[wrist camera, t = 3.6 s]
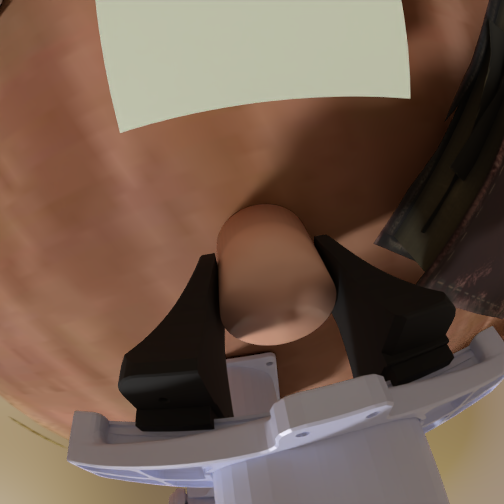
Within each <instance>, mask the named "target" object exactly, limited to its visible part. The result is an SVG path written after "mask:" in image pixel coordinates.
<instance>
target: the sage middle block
mask: <svg viewBox="0 0 504 504" xmlns="http://www.w3.org/2000/svg"><path fill="white" fill-rule="evenodd" d="M96 9H97V18H98V25H99V33H100V39H101V45H102V52H103V57H104V63H105V68H106V73H107V78H108V83H109V88H110V93H111V97H112V102H113V106H114V110H115V114H116V118H117V122H118V126H119V130H120V133H122V132H125V131H128V130H131V129H135V128H138V127H141V126H145V125H149V124H152V123H156V122H160V121H164V120H168V119H172V118H176V117H180V116H184V115H189V114H194V113H198V112H203V111H208V110H214V109H219V108H225V107H231V106H237V105H244V104H251V103H258V102H267V101H276V100H286V99H298V98H313V97H342V96H366V97H393V98H408V99H410V70H409V56H408V45H407V35H406V27H405V20H404V13H403V7H402V1H401V0H96Z"/></svg>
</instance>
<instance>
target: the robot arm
mask: <svg viewBox="0 0 504 504" xmlns="http://www.w3.org/2000/svg"><path fill="white" fill-rule="evenodd" d="M314 246H315V248H316V249H317V251H318V253H319V255H320V257H321V259H322V261H323V263H324V265H325V267H326V269H327V271H328V272H329V274H330V276H331V278H332V280H333V282H334V285H335V288H336V302H335V305H334V308H333V310H332V315H333V317H334V319H335V321H336V323H337V325H338V328H339V330H340V333H341V336H342V339H343V342H344V345H345V349H346V352H347V355H348V359H349V362H350V366H351V370H352V374H353V379H350V380H346V381H342V382H339V383H335V384H331V385H327V386H323V387H319V388H315V389H311V390H306V391H302V392H298V393H295V394H291V395H288V396H285V397H283V398H282V399H280V394H279V384H278V374H277V364H276V357H275V354H274V353H271V352H270V353H263V354H257V355H251V356H245V357H238V358H232V359H226V356H225V327H224V325H223V323H222V321H221V317H220V307H219V288H218V266H217V261H216V257H215V253H213V254H207V255H202V256H201V257H200V259H199V261H198V264H197V266H196V268H195V270H194V272H193V274H192V276H191V278H190V280H189V282H188V284H187V286H186V288H185V289H184V291H183V293H182V294H181V296H180V298H179V299H178V301H177V302H176V304H175V305H174V307H173V308H172V309H171V311H170V312H169V313H168V315H167V316H166V317H165V318H164V320H163V321H162V322H161V323H160V324H159V325H158V326H157V327H156V328H155V329H154V330H153V331H152V332H151V333H150V334H149V335H148V336H147V337H146V338H145V339H144V340H143V341H142V342H140V343H139V344H138V345H137V346H135V347H134V348H133V349H132V350H130V351H129V352H128V353H126V354H125V355H124V359H123V362H122V365H121V370H120V376H119V382H118V388H119V391H120V392H121V393H122V395H123V396H124V397H125V398H126V399H127V400H128V401H129V402H130V403H131V404H132V405H133V406H134V407H135V408H136V409H137V411H136V422H122V421H108V419H107V418H106V417H104V416H103V415H101V414H99V413H96V412H86V411H74V416H73V422H72V428H71V434H70V440H69V447H68V455H67V461H68V462H69V463H71V464H73V465H76V466H78V467H80V468H82V469H84V470H86V471H88V472H91V473H93V474H95V475H98V476H100V477H105V478H111V479H118V480H124V481H131V482H138V483H146V484H154V485H164V486H178V487H187V494H185V489H181V488H178V489H176V491H175V492H173V493H172V494H171V495H170V497H169V504H449V501H448V497H447V495H446V491H445V488H444V485H443V482H442V480H441V477H440V474H439V471H438V468H437V465H436V463H435V460H434V457H433V454H432V452H431V449H430V446H429V444H428V442H427V439H426V436H425V433H426V432H428V431H430V430H432V429H434V428H435V427H437V426H439V425H440V424H442V423H444V422H446V421H447V420H449V419H451V418H452V417H454V416H455V415H457V414H459V413H460V412H461V411H463V410H465V409H466V408H468V407H469V406H471V405H472V404H474V403H475V402H477V401H478V400H480V399H481V398H483V397H484V396H486V395H487V394H489V393H490V392H491V391H492V390H493V389H494V388H495V387H496V386H497V385H498V384H499V383H500V382H501V381H502V380H503V379H504V341H503V340H502V338H501V337H500V335H499V334H498V333H497V331H496V330H495V328H494V327H493V326H491V327H489V328H487V329H485V330H483V331H482V332H480V333H478V334H477V335H476V336H475V337H474V338H473V339H472V341H471V343H470V345H469V346H468V347H466V348H464V349H462V350H460V351H458V352H456V353H454V354H452V352H451V350H450V349H449V347H448V345H447V344H448V342H449V339H448V338H447V336H446V333H447V331H448V329H449V327H450V325H451V323H452V322H453V319H454V317H455V312H456V308H455V306H454V304H453V303H452V302H451V300H450V299H449V298H448V296H447V295H446V294H445V293H444V292H442V291H437V290H433V289H429V288H425V287H421V286H418V285H415V284H412V283H409V282H406V281H404V280H401V279H399V278H396V277H394V276H392V275H390V274H387V273H385V272H383V271H382V270H380V269H378V268H376V267H374V266H372V265H370V264H369V263H367V262H366V261H364V260H362V259H361V258H359V257H358V256H356V255H355V254H353V253H352V252H350V251H349V250H347V249H346V248H345V247H343V246H342V245H341V244H339V243H338V242H336V241H335V240H334V239H332V238H331V237H329V236H328V235H320V236H314Z"/></svg>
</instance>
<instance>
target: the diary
mask: <svg viewBox="0 0 504 504" xmlns="http://www.w3.org/2000/svg"><path fill="white" fill-rule="evenodd" d="M458 105H459V106H458ZM457 106H458V108H457ZM456 108H457V110H456V112H455V114H454V117H453V119H452V121H451V123H450V125H449V127H448V129H447V131H446V133H445V135H444V137H443V139H442V141H441V143H440V145H439V147H438V149H437V151H436V152H435V154H434V155H433V156H432V158H431V159H430V161H429V162H428V163H427V165H426V166H425V168H424V169H423V170H422V172H421V173H420V174H419V176H418V177H417V178H416V180H415V181H414V182H413V184H412V185H411V186H410V188H409V189H408V191H407V192H406V194H405V196H404V197H403V199H402V201H401V202H400V204H399V205H398V207H397V209H396V210H395V212H394V213H393V215H392V216H391V218H390V219H389V221H388V222H387V224H386V225H385V227H384V228H383V230H382V231H381V233H380V235H379V236H378V238H377V239H376V241H375V242H374V244H376V245H378V246H381V247H383V248H386V249H388V250H390V251H393V252H395V253H397V254H400V255H402V256H405V257H407V258H409V259H412V260H414V261H416V262H417V263H418V264H419V265H420V267H421V268H422V269H423V270H424V271H425V273H424V274H423V276H422V277H421V278H420V280H419V281H418V282H417V284H416V285H418V286H421V287H425V288H429V289H433V290H437V291H442V292H444V293H445V294H446V295H447V296H448V298H449V299H450V300H451V302H452V303H453V304H454V306H455V307H456V308H459V309H463V310H466V311H470V312H473V313H476V314H481V315H486V316H491V317H497V318H500V319H503V318H504V0H489V3H488V7H487V10H486V14H485V18H484V22H483V25H482V29H481V32H480V36H479V39H478V42H477V45H476V49H475V52H474V55H473V58H472V62H471V64H470V66H469V68H468V70H467V72H466V74H465V77H464V79H463V81H462V83H461V85H460V87H459V90H458V92H457V94H456V96H455V98H454V101H453V103H452V106H451V108H450V110H449V113H448V115H447V117H446V120H447V118H448V117H449V116H450V115H451V114H452V112H453V111H454V110H455V109H456ZM446 120H445V121H446Z"/></svg>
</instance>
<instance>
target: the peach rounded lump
mask: <svg viewBox="0 0 504 504" xmlns="http://www.w3.org/2000/svg"><path fill="white" fill-rule="evenodd" d="M217 266H218V288H219V307H220V317H221V321H222V323H223V325H224V327H225V328H226V330H227V331H228V332H229V333H230V334H232V335H233V336H234V337H236V338H238V339H239V340H242V341H244V342H247V343H251V344H256V345H279V344H284V343H288V342H292V341H295V340H297V339H300V338H302V337H304V336H306V335H308V334H310V333H311V332H313V331H314V330H316V329H317V328H318V327H319V326H320V325H322V324H323V323H324V321H325V320H326V319H327V318H328V317H329V315H330V314H331V312H332V310H333V308H334V305H335V302H336V288H335V285H334V282H333V280H332V278H331V276H330V274H329V272H328V271H327V269H326V267H325V265H324V263H323V261H322V259H321V257H320V255H319V253H318V251H317V249H316V248H315V246H314V244H313V242H312V240H311V238H310V236H309V235H308V233H307V231H306V229H305V227H304V225H303V224H302V222H301V220H300V219H299V218H298V217H297V216H296V215H295V214H294V213H293V212H291V211H290V210H288V209H286V208H284V207H281V206H278V205H273V204H259V205H253V206H250V207H247V208H244V209H242V210H240V211H238V212H237V213H235V214H234V215H233V216H231V217H230V218H229V219H228V220H227V221H226V222H225V224H224V225H223V227H222V228H221V230H220V232H219V235H218V239H217Z"/></svg>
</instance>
